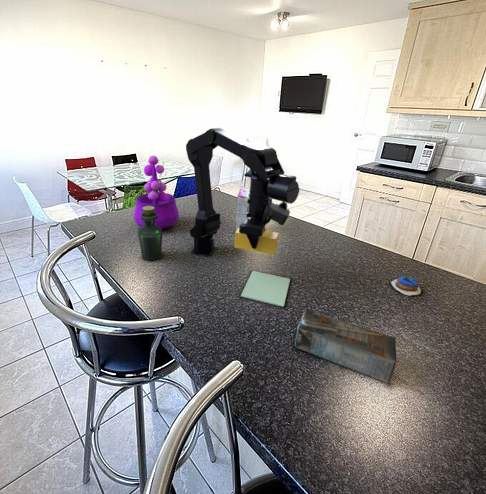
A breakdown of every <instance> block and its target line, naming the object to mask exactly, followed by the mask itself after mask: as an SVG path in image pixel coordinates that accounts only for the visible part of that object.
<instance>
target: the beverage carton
mask: <svg viewBox="0 0 486 494" xmlns="http://www.w3.org/2000/svg"><path fill="white" fill-rule="evenodd" d="M396 342H397V341H396V337H395V336H391V335H388V334H385V333H382V332H379V331H376V330H372V329H370V328H366V327H364V326H360V325H356V324H354V323H351V322H346V321H343V320H340V319H337V318H334V317H332V316H329V315H324V314H322V313H318V312H317V311H313V310H310V309H309V308H308V309H307V308H306V309H304V312H303V314H302V316H301V319H300V321H299V323H298V326H297V329H296V336H295V340H294V348H296V349H298V350H301V351H304V352H306V353H309V354H310V355H313V356H316V357H319V358H322V359H324V360H327V361H329V362H332V363H335V364H336V365H337V364H338V365H339V366H343V367H345V368H347V369H350V370H353V371H355V372H357V373H361V374H364V375H366V376H368V377H371V378H374V379H376V380H379V381H381V382H384V383H386V384H389V383H390V380H391V379H392V376H393V373H394V371H395V367H396V364H397V343H396Z"/></svg>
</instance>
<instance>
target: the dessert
mask: <svg viewBox="0 0 486 494" xmlns="http://www.w3.org/2000/svg"><path fill="white" fill-rule="evenodd" d="M390 284H391V286H392V287H393V288H394V289H395V290H396V291H398V292H399V293H400V294H403V295H405V296H419V295H421V293H422V289H421V288H420V284H419V283H418V281H417V279H416V278H412V277H409V276H407V275H405V274H403V275H402V276H399V277H398V278H397V279H396V278H395V279H394V280H392V281H391V283H390Z"/></svg>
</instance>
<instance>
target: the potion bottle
mask: <svg viewBox="0 0 486 494" xmlns="http://www.w3.org/2000/svg"><path fill="white" fill-rule="evenodd" d="M143 212H144V213H142V214H141V217H140V219H141V220H143V221H144V223H145V226H143V227H141V226H140V228H139V229H138V231H137V236H138V241H139V246H140V253H141V256H142V259H144V260H146V261H150V262H153V261H156V260H158V259H160V258H161V257H162V249H163V228H162V229H161V228H160V227H159V226H157V225H154V222H155V220H156V219H158V215H157V213H155V212H154V207H153V206H145V207H143Z"/></svg>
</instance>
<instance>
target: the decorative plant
mask: <svg viewBox="0 0 486 494" xmlns="http://www.w3.org/2000/svg"><path fill="white" fill-rule="evenodd" d="M147 161H148V164H146V165H145V166H144V167H143V173H144V175H145V176H146V177H150V178H149V179H148V182H146V183H145V184H144V186H143V187H144V189H143V190H144V191H146V192H147V193H143V194H140V195H138V196H137V197H136V198H135V208H134V214H133V219H134V222H135V224H137V225H138V226H139V227H140V228H141V227H143V226H145V223H144V221H143V220H141V219H140V217H141V214H142V213H144V212H143V207H145V206H153V207H154V212H155V213H157V215H158V219H156V220H155V222H154V225H157V226H159V227H160V228H161V229H162V230H163V229H166V228H169V227H172V226H174V225H175V223H176V222H177V221H178V220H179V218H180V216H179V209H178V206H177V202H176V197H175V196H174V195H173V194H171V193H167V192H165V191H166V190H167V184H166V183H165V182H162V181H160V180H159V178H158V174H161V175H162V174H163V173H164V172H165V167H164V165H162V164H159V161H160V160H159V158H158V157H157V156H156V155H150V156H149V157H148V160H147Z"/></svg>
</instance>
